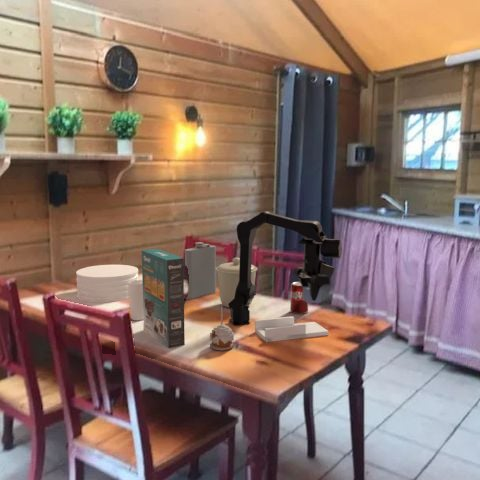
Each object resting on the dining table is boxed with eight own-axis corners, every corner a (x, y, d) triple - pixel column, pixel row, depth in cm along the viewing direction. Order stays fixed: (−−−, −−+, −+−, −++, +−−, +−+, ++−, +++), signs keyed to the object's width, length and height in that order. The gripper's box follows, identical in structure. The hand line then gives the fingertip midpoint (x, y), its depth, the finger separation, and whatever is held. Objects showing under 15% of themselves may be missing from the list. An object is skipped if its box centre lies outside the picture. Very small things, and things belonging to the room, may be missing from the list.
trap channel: (266, 342, 178) (266, 329, 177) (254, 331, 189) (255, 319, 188) (328, 335, 185) (328, 323, 185) (314, 325, 196) (314, 314, 195)
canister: (234, 314, 210) (234, 263, 207) (207, 304, 224) (206, 257, 221) (265, 306, 222) (266, 258, 219) (238, 297, 236) (238, 252, 232)
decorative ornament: (210, 343, 176) (209, 301, 174) (232, 343, 177) (232, 300, 175) (210, 352, 169) (210, 307, 166) (234, 351, 169) (234, 307, 167)
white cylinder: (150, 317, 205) (149, 281, 203) (140, 322, 199) (139, 284, 197) (136, 315, 208) (135, 279, 205) (125, 320, 202) (124, 282, 199)
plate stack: (151, 292, 246) (150, 268, 244) (107, 305, 222) (106, 280, 221) (109, 284, 260) (108, 262, 259) (64, 296, 237) (63, 272, 235)
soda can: (307, 314, 209) (307, 286, 208) (289, 313, 211) (289, 285, 209) (308, 309, 217) (309, 282, 215) (291, 308, 218) (291, 281, 216)
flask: (210, 291, 247) (210, 239, 243) (217, 292, 244) (216, 240, 240) (182, 298, 235) (181, 244, 231) (189, 299, 232) (188, 245, 228)
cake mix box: (184, 344, 175) (183, 258, 170) (168, 348, 172) (166, 260, 167) (158, 327, 193) (157, 248, 189) (143, 330, 190) (141, 250, 186)
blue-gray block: (308, 303, 184) (309, 289, 184) (302, 299, 189) (303, 286, 188) (321, 302, 186) (321, 288, 185) (315, 298, 191) (315, 285, 190)
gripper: (344, 259, 179) (343, 303, 181) (320, 251, 196) (319, 290, 199) (315, 261, 175) (314, 306, 178) (293, 252, 193) (292, 292, 195)
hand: (310, 298), depth 187 cm, fingers closed on blue-gray block, 5 cm apart
